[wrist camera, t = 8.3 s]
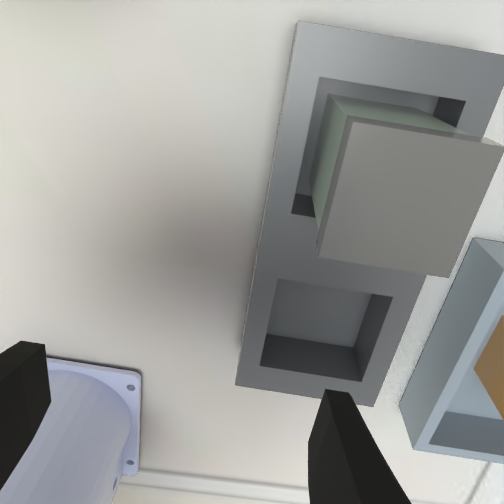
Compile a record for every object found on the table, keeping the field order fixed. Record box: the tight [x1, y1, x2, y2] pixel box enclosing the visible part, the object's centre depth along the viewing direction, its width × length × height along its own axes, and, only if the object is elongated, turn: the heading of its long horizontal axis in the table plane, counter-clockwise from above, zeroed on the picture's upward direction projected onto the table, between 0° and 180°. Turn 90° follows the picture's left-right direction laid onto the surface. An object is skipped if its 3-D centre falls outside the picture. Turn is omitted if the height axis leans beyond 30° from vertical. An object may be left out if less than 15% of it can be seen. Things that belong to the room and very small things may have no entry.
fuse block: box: [235, 21, 504, 407], centre depth 18 cm, size 16×7×3 cm, turn 172°
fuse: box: [309, 94, 504, 278], centre depth 14 cm, size 4×4×7 cm
